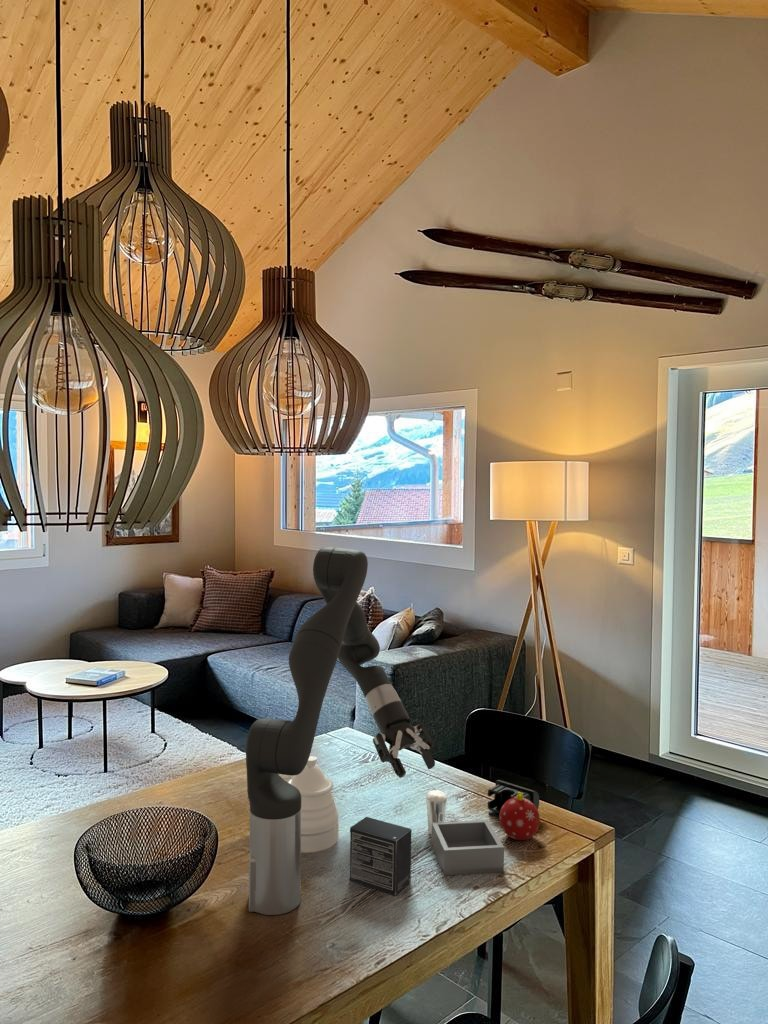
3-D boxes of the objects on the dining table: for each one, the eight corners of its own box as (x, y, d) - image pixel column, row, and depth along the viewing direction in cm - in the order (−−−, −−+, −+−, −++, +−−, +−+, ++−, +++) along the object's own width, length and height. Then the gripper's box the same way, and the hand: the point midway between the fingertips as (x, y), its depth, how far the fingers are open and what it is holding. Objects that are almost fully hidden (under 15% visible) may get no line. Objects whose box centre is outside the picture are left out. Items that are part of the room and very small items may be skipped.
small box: (412, 881, 147) (413, 827, 147) (396, 897, 141) (396, 841, 141) (366, 866, 152) (366, 814, 152) (348, 880, 147) (348, 827, 146)
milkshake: (448, 839, 164) (449, 793, 164) (424, 836, 165) (424, 791, 165) (451, 829, 168) (452, 785, 168) (427, 827, 170) (427, 782, 169)
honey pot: (344, 848, 160) (345, 763, 159) (282, 856, 156) (283, 769, 155) (331, 821, 172) (332, 742, 171) (274, 828, 168) (274, 747, 167)
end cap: (539, 816, 176) (540, 787, 176) (523, 827, 170) (524, 797, 170) (501, 804, 182) (502, 776, 182) (485, 814, 177) (486, 785, 177)
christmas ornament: (526, 851, 159) (527, 804, 159) (491, 838, 165) (492, 792, 164) (546, 837, 166) (547, 791, 165) (512, 825, 171) (513, 781, 171)
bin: (443, 875, 149) (444, 850, 149) (431, 845, 161) (431, 822, 161) (503, 871, 151) (504, 847, 151) (487, 842, 163) (487, 819, 162)
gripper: (369, 705, 174) (401, 771, 165) (417, 694, 182) (449, 756, 174) (355, 722, 178) (385, 787, 169) (402, 711, 187) (433, 772, 178)
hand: (417, 771), depth 172 cm, fingers open, 8 cm apart
